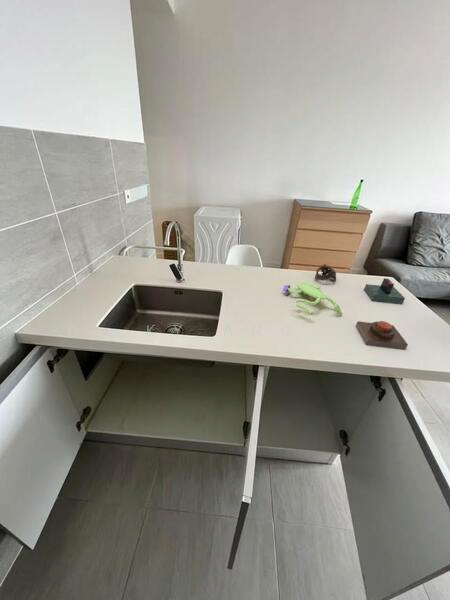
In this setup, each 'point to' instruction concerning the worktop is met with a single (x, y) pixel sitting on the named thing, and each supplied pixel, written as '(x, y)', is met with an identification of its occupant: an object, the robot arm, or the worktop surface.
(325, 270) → the dark brown dome
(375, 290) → the panel
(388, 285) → the handle
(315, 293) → the figurine
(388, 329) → the button
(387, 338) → the button block
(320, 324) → the worktop surface
